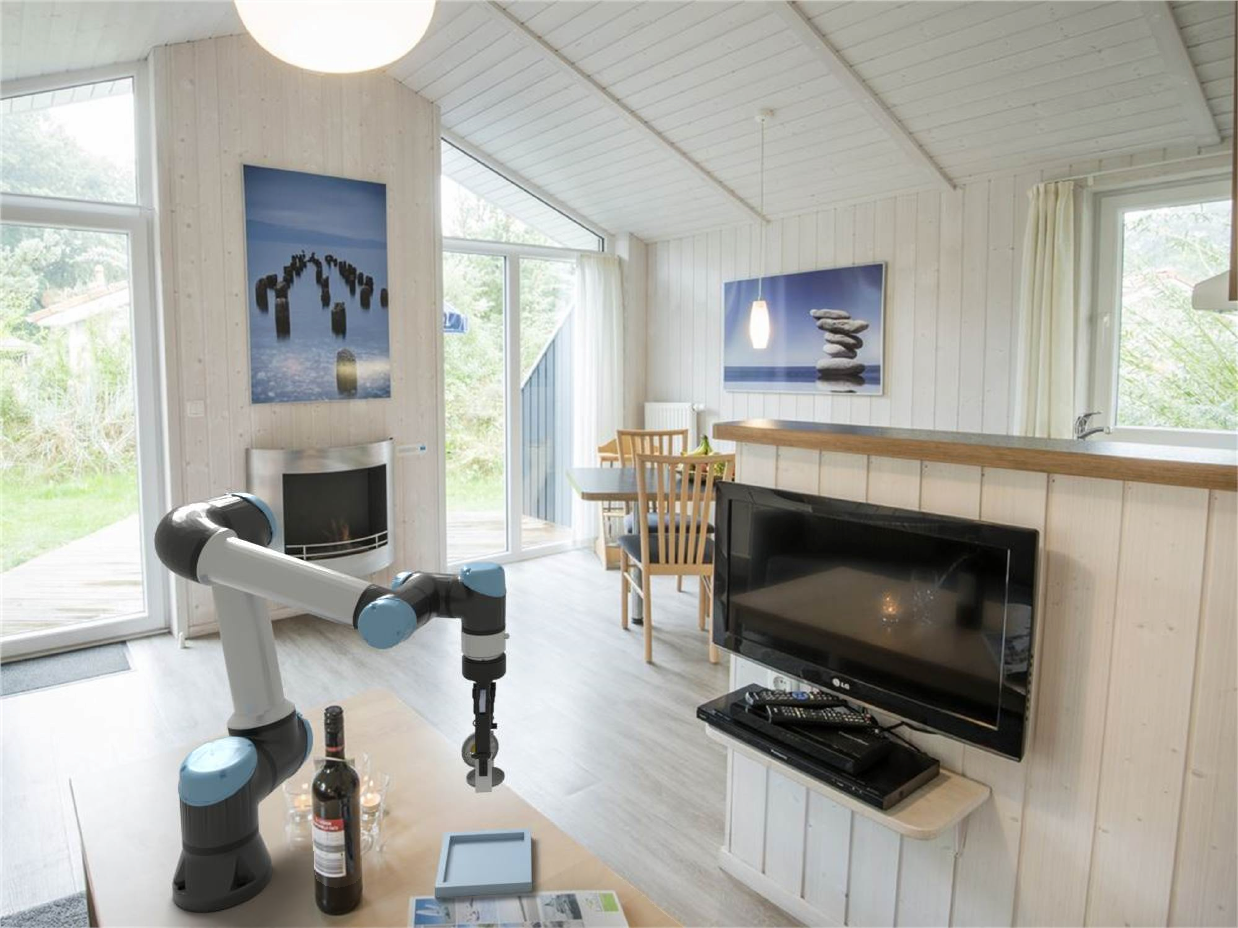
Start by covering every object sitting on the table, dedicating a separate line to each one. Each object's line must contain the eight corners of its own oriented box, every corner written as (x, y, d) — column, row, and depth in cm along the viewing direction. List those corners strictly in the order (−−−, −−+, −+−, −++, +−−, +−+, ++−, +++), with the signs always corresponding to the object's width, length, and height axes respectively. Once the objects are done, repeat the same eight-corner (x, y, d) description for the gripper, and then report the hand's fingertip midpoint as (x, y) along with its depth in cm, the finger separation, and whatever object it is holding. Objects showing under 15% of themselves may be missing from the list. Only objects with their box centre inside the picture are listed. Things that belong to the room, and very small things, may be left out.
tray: (434, 897, 134) (434, 887, 134) (444, 841, 150) (444, 832, 150) (531, 891, 136) (531, 881, 136) (530, 836, 152) (530, 827, 152)
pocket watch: (487, 794, 136) (487, 738, 135) (450, 780, 140) (449, 726, 139) (518, 774, 143) (518, 720, 142) (482, 761, 147) (481, 709, 146)
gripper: (504, 675, 128) (505, 809, 131) (507, 632, 149) (508, 749, 152) (456, 676, 128) (458, 811, 130) (466, 633, 148) (467, 750, 151)
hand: (485, 777), depth 141 cm, fingers closed on pocket watch, 8 cm apart
